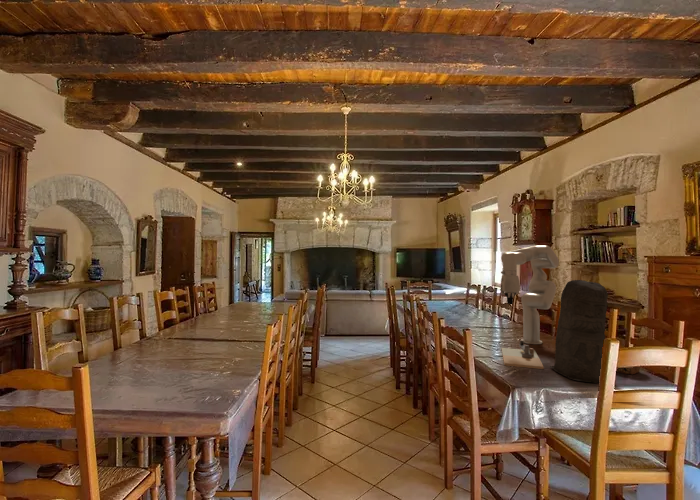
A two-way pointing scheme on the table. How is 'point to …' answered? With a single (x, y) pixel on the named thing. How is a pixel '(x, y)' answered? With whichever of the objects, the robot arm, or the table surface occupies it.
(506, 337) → the table surface
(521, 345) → the swing bar
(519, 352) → the door and jamb board
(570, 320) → the stone sculpture
